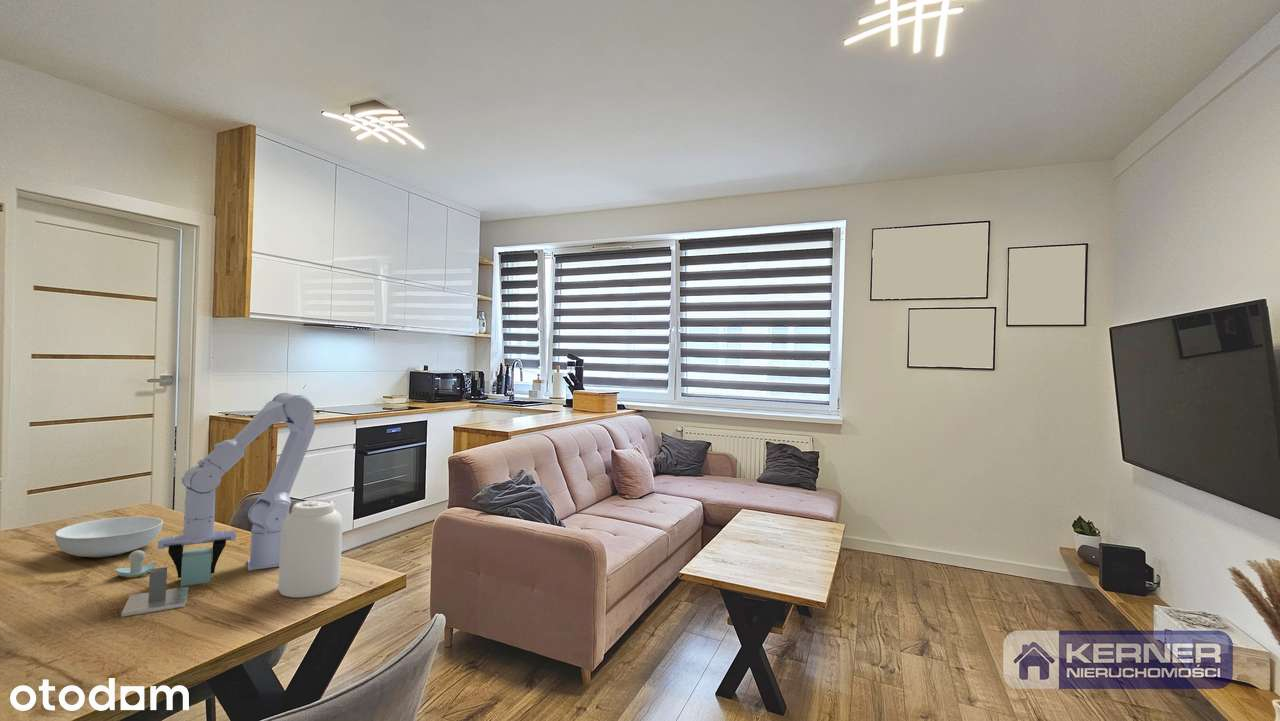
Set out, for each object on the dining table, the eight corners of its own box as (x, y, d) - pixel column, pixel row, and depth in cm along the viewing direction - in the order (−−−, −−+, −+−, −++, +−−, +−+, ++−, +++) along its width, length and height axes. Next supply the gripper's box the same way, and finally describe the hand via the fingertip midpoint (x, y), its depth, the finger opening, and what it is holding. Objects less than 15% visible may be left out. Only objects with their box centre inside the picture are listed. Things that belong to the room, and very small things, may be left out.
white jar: (264, 592, 129) (269, 505, 129) (313, 574, 140) (317, 494, 140) (305, 603, 124) (309, 512, 124) (352, 583, 136) (355, 500, 136)
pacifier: (115, 575, 136) (114, 582, 131) (117, 548, 136) (116, 554, 131) (156, 568, 140) (156, 575, 136) (157, 543, 141) (157, 549, 136)
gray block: (188, 590, 128) (190, 559, 128) (184, 606, 120) (186, 573, 120) (130, 598, 123) (131, 566, 123) (121, 616, 114) (123, 582, 114)
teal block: (211, 574, 138) (212, 547, 138) (209, 582, 133) (211, 554, 133) (182, 578, 134) (184, 550, 135) (180, 586, 130) (182, 557, 130)
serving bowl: (174, 550, 153) (175, 524, 153) (67, 572, 135) (68, 543, 135) (145, 534, 164) (147, 511, 164) (43, 553, 146) (44, 527, 146)
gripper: (157, 525, 126) (154, 585, 126) (236, 517, 135) (233, 574, 135) (161, 517, 132) (158, 575, 132) (237, 510, 141) (234, 565, 140)
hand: (196, 574), depth 134 cm, fingers closed on teal block, 5 cm apart
